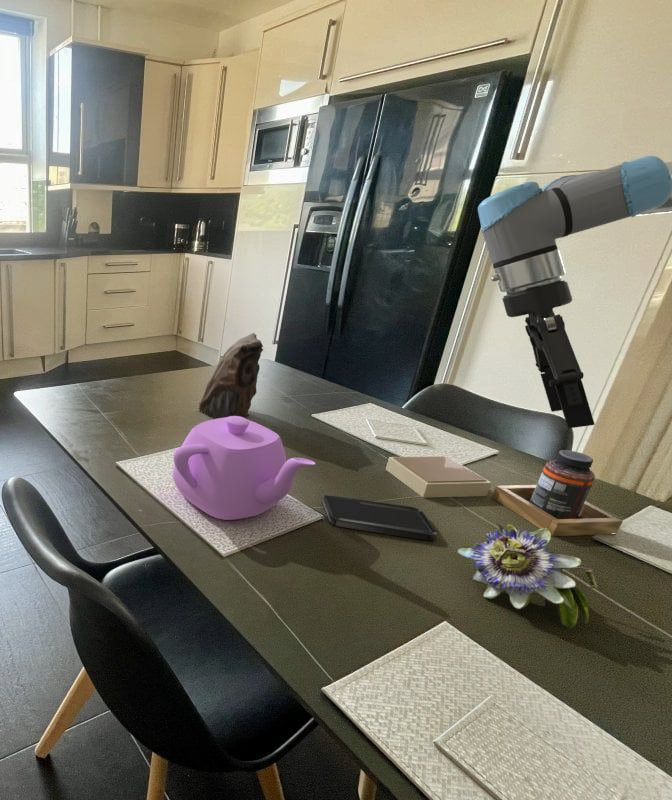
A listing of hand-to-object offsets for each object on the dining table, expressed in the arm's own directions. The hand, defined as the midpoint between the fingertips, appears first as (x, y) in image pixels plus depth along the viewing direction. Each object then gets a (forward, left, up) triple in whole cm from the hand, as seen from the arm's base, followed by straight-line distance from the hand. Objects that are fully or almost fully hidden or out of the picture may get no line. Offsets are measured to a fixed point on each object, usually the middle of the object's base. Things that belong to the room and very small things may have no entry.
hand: (571, 417), depth 75 cm
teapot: (+50, -7, -18) cm, 53 cm away
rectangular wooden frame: (-3, 0, -18) cm, 18 cm away
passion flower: (+20, +17, -18) cm, 32 cm away
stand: (+9, -11, -18) cm, 23 cm away
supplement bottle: (-3, 0, -18) cm, 18 cm away
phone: (+28, 0, -18) cm, 33 cm away
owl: (+37, -44, -18) cm, 60 cm away
